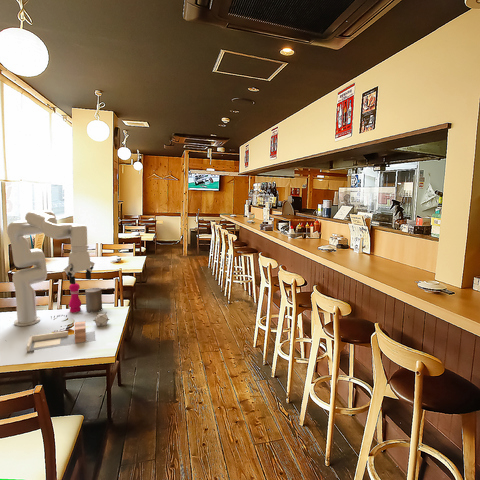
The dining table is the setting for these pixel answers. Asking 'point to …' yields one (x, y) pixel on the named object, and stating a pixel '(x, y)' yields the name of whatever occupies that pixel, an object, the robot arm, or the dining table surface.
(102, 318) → the grey spiky ball
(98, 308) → the pillar candle
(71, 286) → the pepper mill
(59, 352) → the dining table surface
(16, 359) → the dining table surface
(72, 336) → the board
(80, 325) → the block
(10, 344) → the dining table surface
